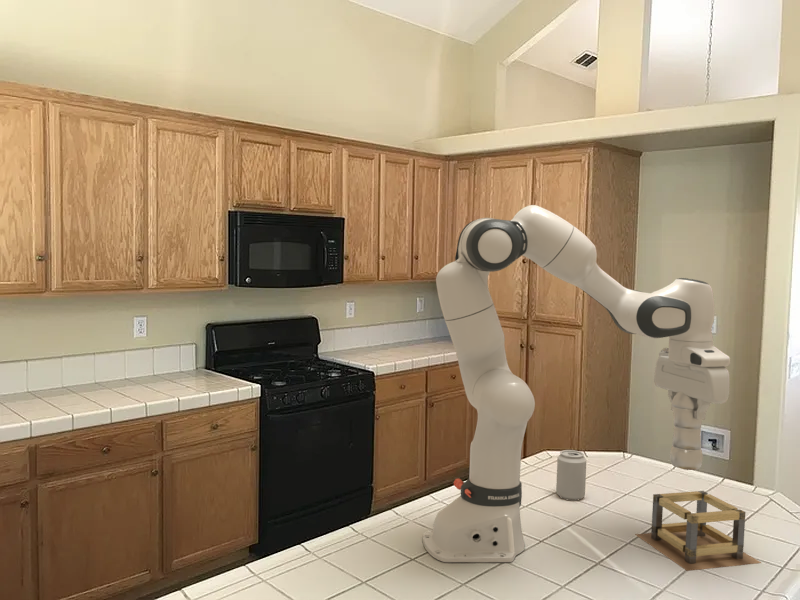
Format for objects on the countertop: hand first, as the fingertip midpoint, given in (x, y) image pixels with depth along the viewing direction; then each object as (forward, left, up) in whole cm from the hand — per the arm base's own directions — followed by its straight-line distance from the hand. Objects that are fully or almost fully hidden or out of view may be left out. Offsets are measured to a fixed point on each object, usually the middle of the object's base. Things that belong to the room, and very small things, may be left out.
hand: (687, 415), depth 146 cm
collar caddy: (+1, -3, -29) cm, 29 cm away
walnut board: (+1, -3, -30) cm, 30 cm away
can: (-9, +34, -30) cm, 46 cm away
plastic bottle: (0, 0, -12) cm, 12 cm away
